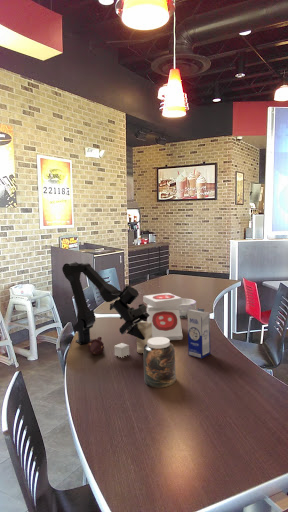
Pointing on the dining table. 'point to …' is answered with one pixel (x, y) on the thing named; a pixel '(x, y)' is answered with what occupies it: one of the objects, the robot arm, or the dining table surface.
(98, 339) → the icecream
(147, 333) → the birch block
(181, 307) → the paper bowls
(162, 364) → the jar
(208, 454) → the dining table surface
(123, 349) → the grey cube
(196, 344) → the milk carton
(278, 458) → the dining table surface
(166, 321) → the pizza boxes
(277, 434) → the dining table surface
